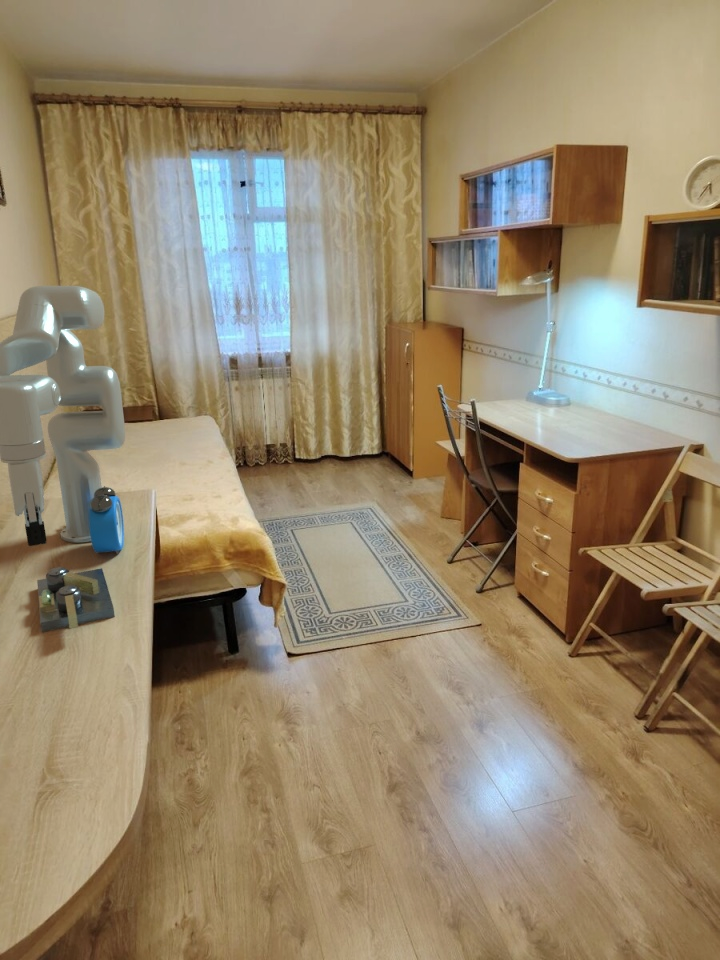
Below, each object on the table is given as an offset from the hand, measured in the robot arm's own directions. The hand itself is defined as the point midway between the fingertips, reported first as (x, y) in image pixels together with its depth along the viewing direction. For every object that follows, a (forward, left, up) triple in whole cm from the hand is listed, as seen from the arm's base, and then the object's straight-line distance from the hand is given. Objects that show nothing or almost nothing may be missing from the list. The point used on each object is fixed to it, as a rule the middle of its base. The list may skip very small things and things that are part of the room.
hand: (37, 543), depth 128 cm
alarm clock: (-21, +23, -15) cm, 35 cm away
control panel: (-1, +6, -15) cm, 16 cm away
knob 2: (+8, +1, -13) cm, 15 cm away
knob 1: (-2, +6, -13) cm, 14 cm away
